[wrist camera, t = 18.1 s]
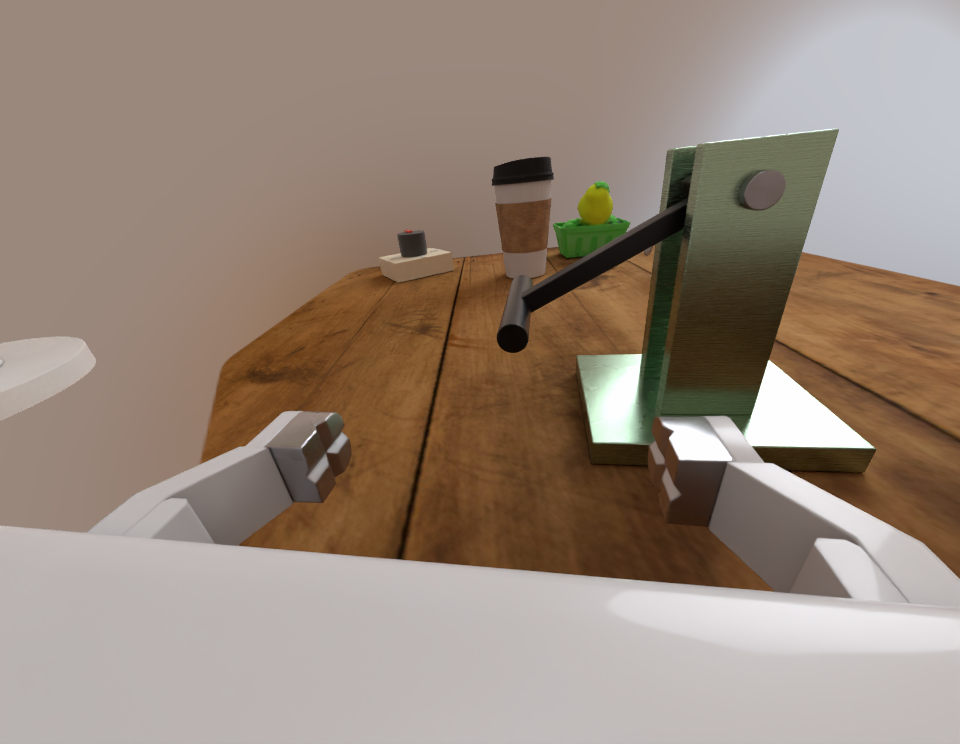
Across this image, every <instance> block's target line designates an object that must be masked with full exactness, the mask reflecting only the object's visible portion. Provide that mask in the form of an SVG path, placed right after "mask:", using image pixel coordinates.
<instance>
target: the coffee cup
mask: <svg viewBox="0 0 960 744" xmlns="http://www.w3.org/2000/svg"><path fill="white" fill-rule="evenodd" d="M552 179H554V178H553V172H552V169H551V159H550V157H537V158H527V159H520V160H516V161H511V162H508V163H504V164H502V165H498V166H495V167H494V175H493V179H492V186H493V185H494V186H495V193H496V201H497V203H496V211H497V217H498V224H499V230H500V236H501V243H502V250H503V255H504V263H505V271H506V276H507V277H509V278H515V277H517V276H519V275H525V276H528V277H529V278H535V277H539V276H542V275H544V274H545V270H546V254H547V244H548V232H549V220H550V208H551V198H550V188H551V180H552Z"/></svg>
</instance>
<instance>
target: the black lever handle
mask: <svg viewBox="0 0 960 744" xmlns="http://www.w3.org/2000/svg"><path fill="white" fill-rule="evenodd" d="M691 178H692V175H690V176H689V177H687V178H685V179H684V180H682V181H681V183H682V186H683V188H684V191H685V193H686V196H687V198H685V199H683V200H682V201H680V202H678V203H676V204H675V205H673V206H671V207H669V208H668V209H666V210H664V211H662V212H661V213H659V214H657V215H656V216H654V217H652V218H651V219H649V220H647V221H645V222H643V223H642V224H640V225H638V226H637V227H635V228H633V229H631V230H630V231H628V232H626V233H624V234H623V235H621V236H619V237H618V238H616V239H614V240H612V241H611V242H609V243H607V244H605V245H604V246H602V247H600V248H598V249H597V250H595V251H593V252H592V253H590V254H588V255H586V256H585V257H583V258H581V259H579V260H578V261H576V262H574V263H573V264H571V265H569V266H567V267H566V268H564V269H562V270H560V271H559V272H557V273H555V274H554V275H552V276H550V277H548V278H547V279H545V280H543V281H541V282H540V283H538V284H536V285H534V286H533V282H532V280H531V279H530V278H529V277H528V276H525V275H519V276H517V277H515V278H514V279H513V281H512V283H511V287H510V291H509V294H508V298H507V301H506V305H505V308H504V312H503V316H502V319H501V323H500V326H499V330H498V333H497V342H498V344H499V346H500V347H501V348H502V349H503V350H504V351H506V352H510V353H516V352H519V351H521V350H523V349H524V348H525V347H526V345H527V343H528V338H529V326H530V315H531V312H533V311H535V310H537V309H539V308H540V307H542V306H544V305H546V304H548V303H550V302H551V301H553V300H555V299H557V298H559V297H560V296H562V295H564V294H566V293H568V292H570V291H571V290H573V289H575V288H577V287H579V286H581V285H582V284H584V283H586V282H588V281H590V280H591V279H593V278H595V277H597V276H599V275H601V274H602V273H604V272H606V271H608V270H610V269H611V268H613V267H615V266H617V265H619V264H621V263H622V262H624V261H626V260H628V259H630V258H632V257H633V256H635V255H637V254H639V253H641V252H642V251H644V250H646V249H648V248H650V247H652V246H653V245H655V244H657V243H659V242H661V241H662V240H664V239H666V238H668V237H670V236H672V235H673V234H675V233H677V232H679V231H681V230H682V229H684V223H685V217H686V210H687V204H688V198H689V191H690V185H691Z"/></svg>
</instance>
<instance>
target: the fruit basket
mask: <svg viewBox="0 0 960 744" xmlns="http://www.w3.org/2000/svg"><path fill="white" fill-rule="evenodd" d="M609 192H610V191H609V186H608V184H607V183H605V182H602V181H599V182H596V183H594V185H592V186H591V187H590V188H588V190H587V191H586V193H585V195H584V196H583V197H582V198H581V200H580V202H579V204H578V211H579V214H580V216H581V218H582V219H581V218H577V219H576V220H569V221H567V222H565V223H555V224H553V226H554V230H555V232H556V237H557V241H558V245H559V250H560V253H562V255H564V256H565V257H566V258H572V257H584V256H586V255H588V254H590V253H592V252H593V251H595V250H597V249H598V248H600V247H602V246H604V245H605V244H607V243H609V242H611V241H612V240H614V239H616V238H618V237H619V236H621V235H623V234H624V233H626V231H627V229H628V227H629V225H630V222H628V221H625V220H622V219H619V218H615V216H613V215H611V213H612V210H613V203H612V199H611V197H610V195H609Z"/></svg>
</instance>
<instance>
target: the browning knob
mask: <svg viewBox="0 0 960 744" xmlns="http://www.w3.org/2000/svg"><path fill="white" fill-rule="evenodd" d="M397 235H398V240H399V246H400V252H401V256H402V257H417V256H422V255H425V254H427V247H426V240H425V234H424V231H412V230H405V232H403V233H399V234H397Z"/></svg>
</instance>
